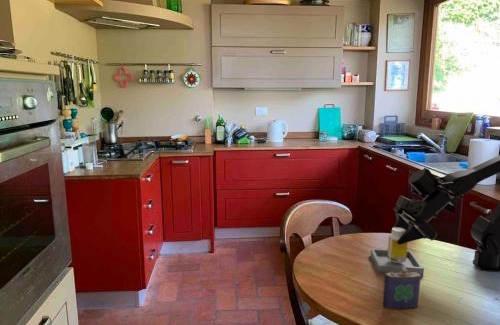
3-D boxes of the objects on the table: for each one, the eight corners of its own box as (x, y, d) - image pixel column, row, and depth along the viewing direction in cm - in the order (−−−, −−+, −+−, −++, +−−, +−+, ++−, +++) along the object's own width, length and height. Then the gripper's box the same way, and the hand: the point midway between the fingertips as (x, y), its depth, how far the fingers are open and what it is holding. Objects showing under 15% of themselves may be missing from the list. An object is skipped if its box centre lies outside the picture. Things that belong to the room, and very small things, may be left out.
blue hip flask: (414, 303, 101) (418, 265, 99) (420, 309, 98) (424, 270, 96) (380, 304, 100) (383, 266, 98) (385, 311, 97) (389, 271, 95)
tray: (410, 257, 128) (411, 250, 128) (423, 276, 116) (423, 268, 115) (370, 255, 130) (370, 248, 129) (378, 273, 117) (379, 265, 117)
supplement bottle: (409, 262, 120) (412, 231, 118) (394, 264, 119) (396, 233, 117) (398, 255, 125) (400, 225, 124) (383, 257, 124) (385, 227, 122)
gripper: (401, 180, 127) (366, 213, 129) (430, 196, 109) (389, 233, 110) (422, 203, 129) (387, 235, 131) (454, 222, 111) (414, 258, 112)
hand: (393, 239), depth 121 cm, fingers closed on supplement bottle, 5 cm apart
